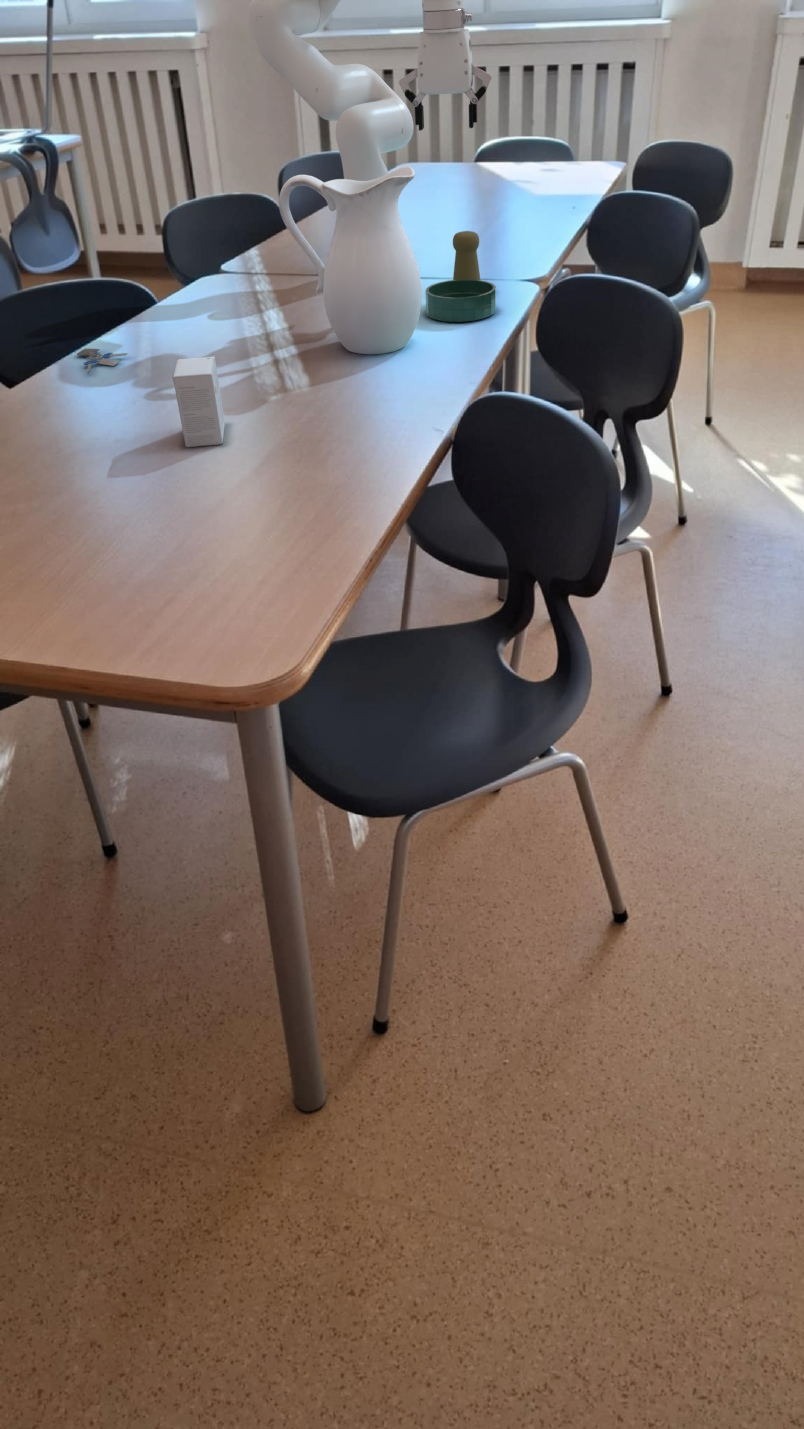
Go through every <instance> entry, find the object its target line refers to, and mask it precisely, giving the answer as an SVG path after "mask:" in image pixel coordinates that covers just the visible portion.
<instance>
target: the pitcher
mask: <svg viewBox="0 0 804 1429" xmlns="http://www.w3.org/2000/svg"><path fill="white" fill-rule="evenodd" d="M415 177H416V171H415V170H414V168H413V167H411V166H409V165H404V166H400V167H398V168H395V169H394V170H391V171H390V172H388V174H386V175H384V176H382V177H380V178H377V179H374V180H370V181H355V180H347V179H344V178H336V179H331V180H328V181H325V182H324V181H322V180H321V179H319V178H317V177H315V176H312V175H309V174H297V175H293V176H292V177H290V178H289V179H287V180H286V181H285V183H284V184H283V186H282V187H281V190H280V191H279V196H278V207H279V213H280V216H281V219H282V221H283V223H284V225H285V227H286V229H287V230H288V232H289V234H291V236H292V237H293V239H294V240H295V241H296V243H297V244H298V245H299V246H300V248H302V250H303V251H304V252H305V254H306V255H307V257H308V258H309V259H310V261H311V262H312V264H313V266H314V267H315V269H316V272H317V276H318V279H317V284H316V288H315V291H314V292H315V293H316V294H319V293H323V302H324V303H323V304H324V309H325V313H326V317H327V319H328V322H329V324H330V326H331V329H332V331H333V332H334V334H335V336H336V337H337V339H338V340H339V342H340V343H341V345H342V346H343V348H344V349H346V350H347V351H348V352H350V353H354V354H359V355H360V354H361V355H383V354H389V353H390V354H391V353H393V352H396V351H399V350H401V349H403V348H405V347H406V346H407V345H408V343H409V342H410V341H411V338H412V337H413V334H414V332H415V331H416V327H417V326H418V323H419V319H420V316H421V315H420V314H421V310H422V302H423V300H422V298H423V288H422V287H423V286H422V279H421V274H420V268H419V264H418V262H417V259H416V255H415V252H414V250H413V248H412V245H411V243H410V240H409V236H408V235H407V233H406V230H405V228H404V226H403V223H402V220H401V217H400V212H399V198H400V196H401V194H402V192H403V191H404V189H405V188H406V186H407V185H408V184H409V183H410V182H411V181H412V180H413V179H414V178H415ZM297 187H309V189H313V190H314V191H316V192H317V193H318V194H319V195H320V196H322V197H323V198H324V200H325V201H326V204H327V207H328V210H329V211H330V212H334V211H336V218H335V226H334V229H333V233H332V237H331V239H330V240H331V241H330V243H329V248H328V252H327V254H326V259H325V263H324V262H323V261H322V259H321V258H320V257H319V255H318V254H317V253H316V251H315V249H314V248H313V247H312V246H311V244H310V243H309V242H308V241H307V239H306V238H305V236H304V235H303V233H302V232H301V230H300V229H299V227H298V226H297V224H296V222H295V220H294V218H293V215H292V212H291V208H290V197H291V193H292V192H293V191H294V189H296V188H297Z"/></svg>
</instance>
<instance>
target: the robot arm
mask: <svg viewBox="0 0 804 1429" xmlns="http://www.w3.org/2000/svg"><path fill="white" fill-rule="evenodd" d="M340 2H341V0H251V1H250V3H249V5H248V10H247V12H248V13H247V20H248V21H247V22H248V26H249V31H250V36H251V38H252V41H253V43H254V45H255V48H256V49H257V51H258V53H259V55H261V57H262V59H263V60H264V61H265V63H267V64H268V65H269V66H270V67H271V68H272V69H273V70H274V71H275V72H276V73H278V75H280V76H281V77H282V78H283V79H284V80H285V81H286V82H287V83H288V84H289V85H290V86H291V87H292V88H293V90H294V91H295V92H296V93H297V94H298V95H299V96H300V98H302V99H303V100H304V102H306V104H307V105H308V106H309V107H310V108H311V109H312V110H313V111H314V112H315V113H316V114H317V115H318V116H319V117H320V118H321V119H323V120H326V121H331V122H333V121H336V124H335V139H336V144H337V148H338V152H339V156H340V160H341V166H342V171H343V179H347V180H355V181H370V180H374V179H377V178H380V177H382V176H384V175H386V174H388V173H389V171H388V168H387V166H386V164H385V162H384V160H383V157H382V154H386V153H390V152H395V151H397V150H400V149H403V148H404V147H405V146H407V145H408V144H409V142H410V141H411V140H412V137H413V135H414V124H415V126H418V131H419V132H420V131H423V130H424V128H425V112H424V111H425V110H424V105H423V102H422V101H423V99H424V98H425V97H426V95H427V96H429V95H430V96H431V95H451V94H452V95H454V94H465V96H466V98H468V99H469V104H468V129H474V126H475V123H476V124H477V123H478V102H479V101H480V100H481V98H483V96H484V95H485V94H486V92H487V90H488V88H489V85H490V83H491V80H492V75H491V74H490V73H488V72H486V71H484V70H483V69H481V68H480V67H478V66H476V65H473V53H472V42H471V35H470V29H468V28H465V25H466V24H467V23H469V22H470V23H471V22H473V13H472V12H468V11H466V10H465V0H421V6H422V31H420V32H419V37H418V46H417V67H416V68H415V69H414V70H412V71H410V73H408V74H407V75H405V76H403V77H402V78H400V80H399V81H398V85H399V86H400V88H401V90H402V92H403V94H404V96H405V98H406V99H407V100H408V101H409V102H410V103H411V105H412V106H413V107H414V120H413V116H412V114H411V111H410V109H409V108H408V106H407V104H406V102H404V100H403V99H402V98H401V97H400V96H399V95H398V94H397V93H396V92H395V91H394V89H392V88H391V87H390V86H389V85H388V84H387V83H386V82H385V81H384V80H383V79H382V78H381V77H380V75H379V74H377V72H376V71H375V70H374V69H373V68H371V67H369V66H367V65H365V64H362V63H348V64H340V65H339V64H334V63H332V62H330V61H329V60H328V59H327V58H326V57H325V56H324V55H323V54H322V53H321V52H320V51H319V49H317V47H316V46H313V45H312V44H311V43H309V42H308V41H307V40H304V39H302V38H301V37H299V36H300V35H307V34H312V33H315V32H318V31H320V30H321V29H322V28H324V26H326V24H327V23H328V22H329V20H330V19H331V17H332V15H333V13H334V12H335V10H336V8H337V7H338V5H339V3H340ZM474 77H476V78H478V79H479V80H481V81H482V83H481V85H480V87H479V89H478V90H477V91H476V92H475V90H474V89H473V85H474ZM416 78H417V90H418V93H417V94H415V93H414V92H413V91H412V89H411V88H410V85H409V83H410V82H413V81H414V80H416ZM414 122H415V123H414Z"/></svg>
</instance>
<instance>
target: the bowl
mask: <svg viewBox="0 0 804 1429" xmlns="http://www.w3.org/2000/svg"><path fill="white" fill-rule="evenodd" d="M424 293H425V312H426V314H425V315H426V316H427V317H429V318H431V319H433V320H437V321H441V322H448V323H449V322H450V323H465V322H473V321H478V320H482V319H486V318H488V317H491V316H492V315H494V314H495V313H496V312H497V286H496V285H495V284H494V283H492V282H490V281H487V280H481V279H480V280H472V279H459V280H453V279H451V280H444V281H438V282H436V283H433V284H430V285H429V286H428V287H426V288H425V292H424Z"/></svg>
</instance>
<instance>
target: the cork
mask: <svg viewBox="0 0 804 1429" xmlns="http://www.w3.org/2000/svg"><path fill="white" fill-rule="evenodd" d="M452 246H453V249H454V250H455V255H454V265H453V276H452V280H459V279H472V280H481V274H480V266H479V265H480V264H479V259H478V251H477V250H478V248H479V247H480V236H479V234H478V233H477V232H475V231H473V230H463V231H459V232H456V233H455V234H454V235H453V238H452Z"/></svg>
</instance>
